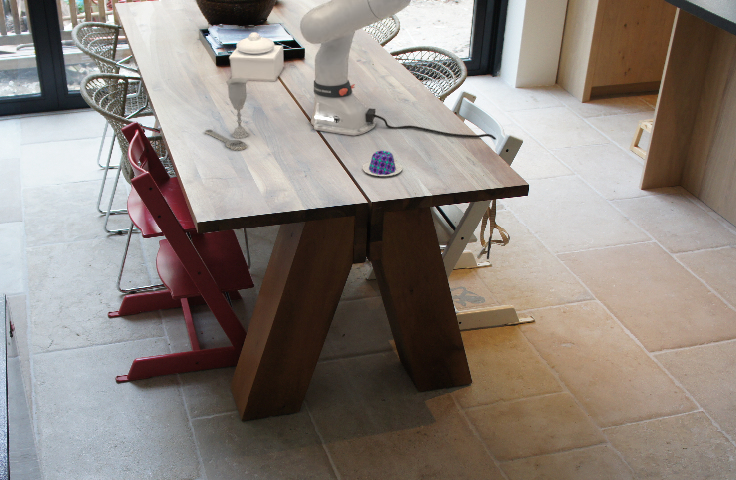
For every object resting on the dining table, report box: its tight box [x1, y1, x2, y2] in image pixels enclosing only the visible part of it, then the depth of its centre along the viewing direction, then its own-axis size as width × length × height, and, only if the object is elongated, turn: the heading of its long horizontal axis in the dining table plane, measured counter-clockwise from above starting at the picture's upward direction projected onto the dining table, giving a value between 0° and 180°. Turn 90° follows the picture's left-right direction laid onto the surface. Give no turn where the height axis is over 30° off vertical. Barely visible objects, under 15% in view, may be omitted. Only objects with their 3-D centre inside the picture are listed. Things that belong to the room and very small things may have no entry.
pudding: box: [362, 150, 403, 177], centre depth 254 cm, size 12×12×5 cm
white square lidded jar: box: [228, 31, 285, 82], centre depth 331 cm, size 18×18×16 cm
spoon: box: [205, 129, 247, 151], centre depth 278 cm, size 21×5×1 cm, turn 39°
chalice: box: [225, 78, 249, 139], centre depth 276 cm, size 7×7×18 cm
